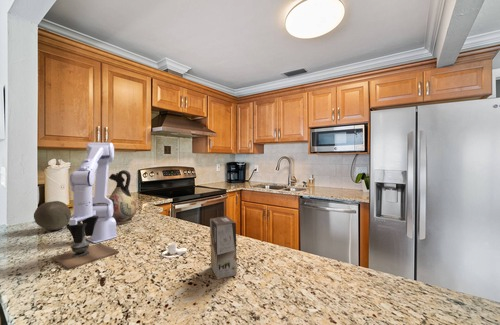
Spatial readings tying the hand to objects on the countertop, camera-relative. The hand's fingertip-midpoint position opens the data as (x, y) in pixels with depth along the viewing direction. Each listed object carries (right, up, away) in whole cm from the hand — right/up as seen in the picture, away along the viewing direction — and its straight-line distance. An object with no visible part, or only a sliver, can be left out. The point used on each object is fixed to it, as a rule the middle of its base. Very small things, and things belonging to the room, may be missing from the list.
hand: (84, 239), depth 86 cm
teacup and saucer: (+34, -6, -1) cm, 35 cm away
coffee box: (+53, -6, -13) cm, 55 cm away
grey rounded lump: (-39, -7, +32) cm, 51 cm away
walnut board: (+1, -6, 0) cm, 6 cm away
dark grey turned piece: (-1, -6, 0) cm, 6 cm away
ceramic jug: (-11, -6, +46) cm, 47 cm away
